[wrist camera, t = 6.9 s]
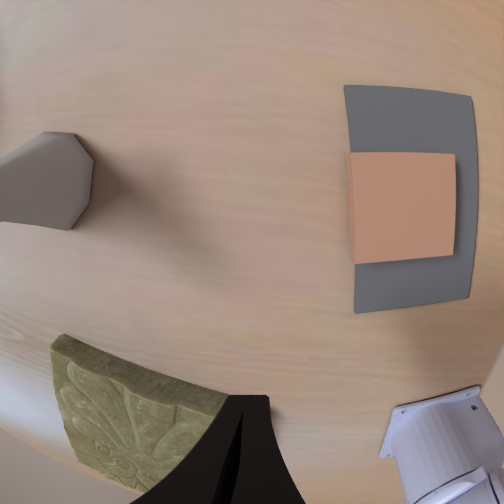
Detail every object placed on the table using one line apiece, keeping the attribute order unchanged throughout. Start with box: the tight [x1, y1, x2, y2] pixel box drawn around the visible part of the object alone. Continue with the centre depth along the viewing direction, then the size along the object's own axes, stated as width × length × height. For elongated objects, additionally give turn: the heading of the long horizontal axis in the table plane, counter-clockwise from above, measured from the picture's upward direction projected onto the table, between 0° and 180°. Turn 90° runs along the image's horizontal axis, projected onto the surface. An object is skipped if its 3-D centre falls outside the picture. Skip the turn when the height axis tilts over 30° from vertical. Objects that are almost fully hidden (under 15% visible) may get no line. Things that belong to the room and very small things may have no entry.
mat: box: [344, 85, 478, 314], centre depth 16 cm, size 9×14×1 cm, turn 6°
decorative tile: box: [48, 334, 229, 493], centre depth 24 cm, size 19×20×4 cm
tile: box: [345, 152, 456, 264], centre depth 16 cm, size 2×6×6 cm
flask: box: [0, 132, 94, 231], centre depth 13 cm, size 7×7×10 cm
